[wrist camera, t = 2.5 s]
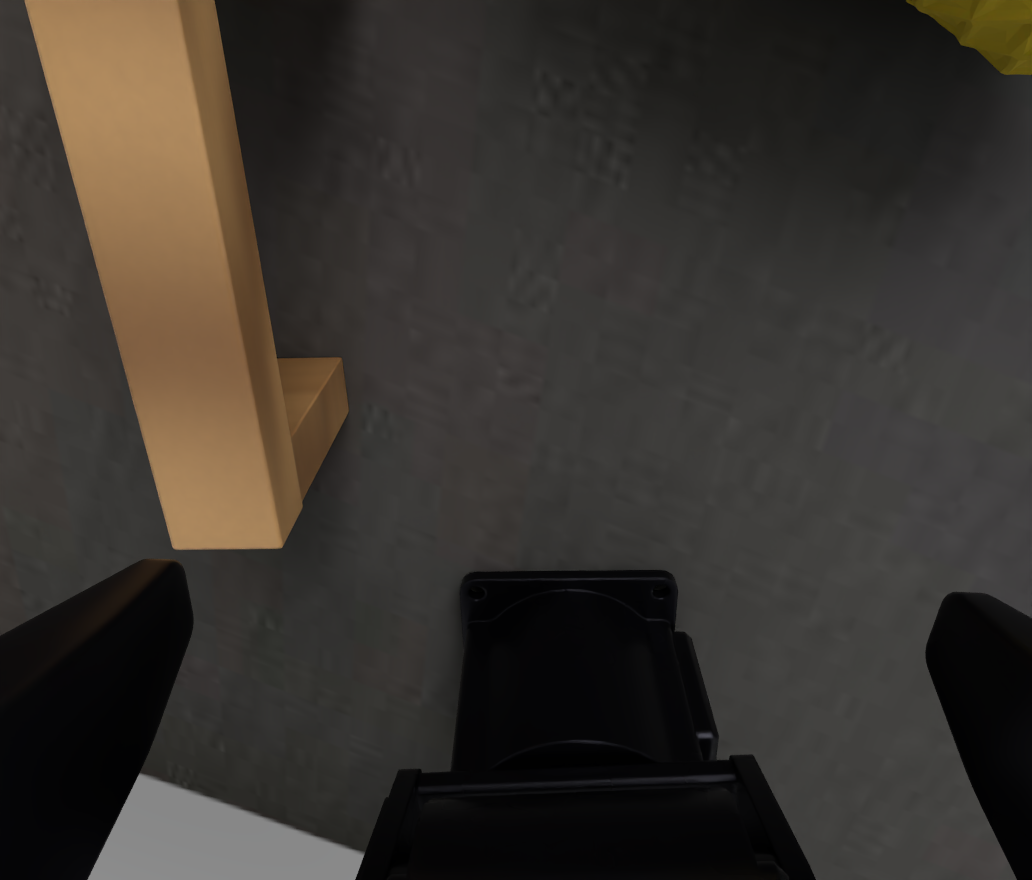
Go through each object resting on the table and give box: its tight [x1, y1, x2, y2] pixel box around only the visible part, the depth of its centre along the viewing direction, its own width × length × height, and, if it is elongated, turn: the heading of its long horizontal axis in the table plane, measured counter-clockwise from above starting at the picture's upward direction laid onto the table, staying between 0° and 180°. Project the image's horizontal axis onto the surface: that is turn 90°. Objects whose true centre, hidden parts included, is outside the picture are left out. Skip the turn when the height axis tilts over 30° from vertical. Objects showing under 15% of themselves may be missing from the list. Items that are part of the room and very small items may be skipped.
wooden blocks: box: [24, 0, 349, 550], centre depth 15 cm, size 15×5×7 cm, turn 1°
